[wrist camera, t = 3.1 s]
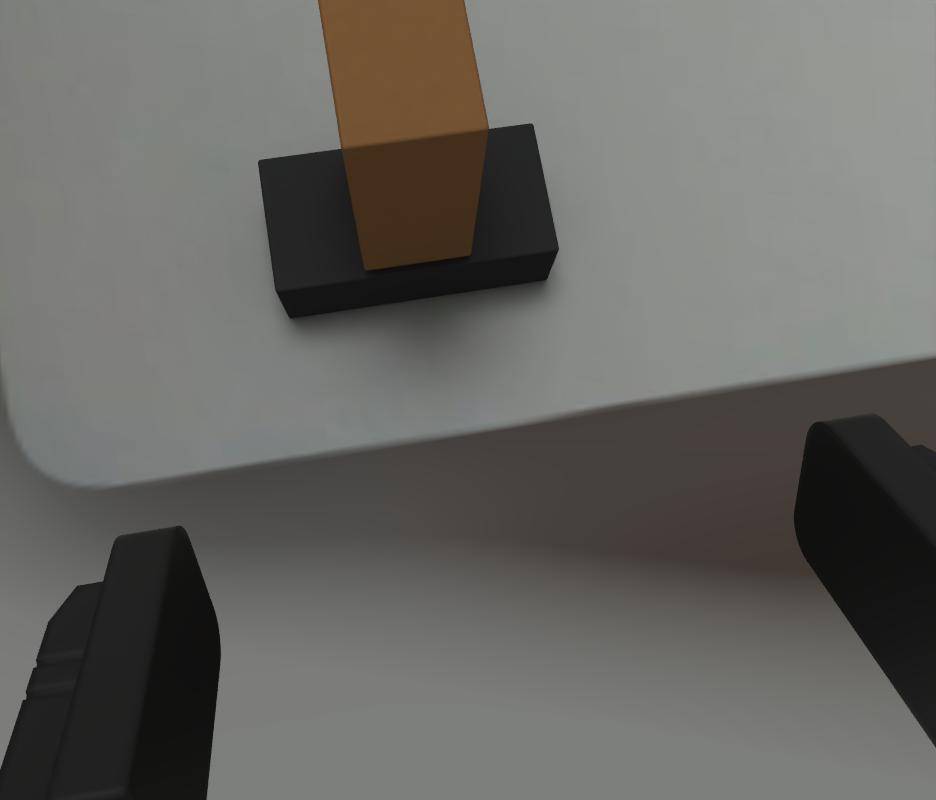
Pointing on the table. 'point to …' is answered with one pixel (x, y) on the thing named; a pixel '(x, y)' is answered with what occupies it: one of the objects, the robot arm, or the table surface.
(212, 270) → the table surface
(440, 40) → the eraser
